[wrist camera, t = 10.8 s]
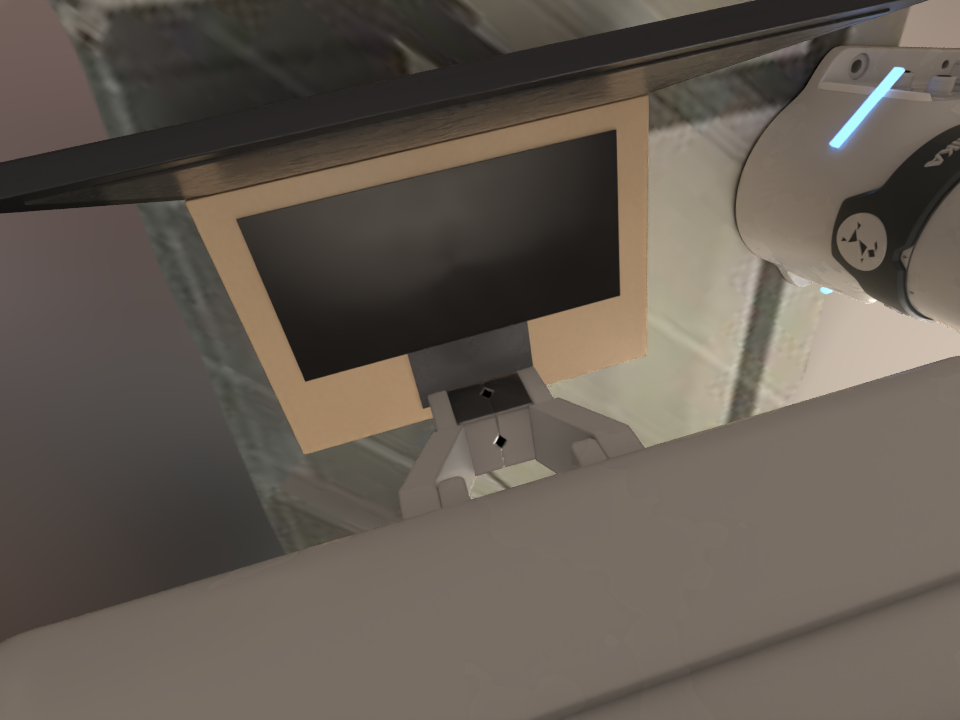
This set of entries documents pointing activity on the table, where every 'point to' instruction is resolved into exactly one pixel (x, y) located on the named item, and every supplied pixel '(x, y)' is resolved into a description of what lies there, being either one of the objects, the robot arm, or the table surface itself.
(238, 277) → the laptop
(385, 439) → the table surface
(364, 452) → the table surface
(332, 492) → the table surface
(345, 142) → the laptop screen
